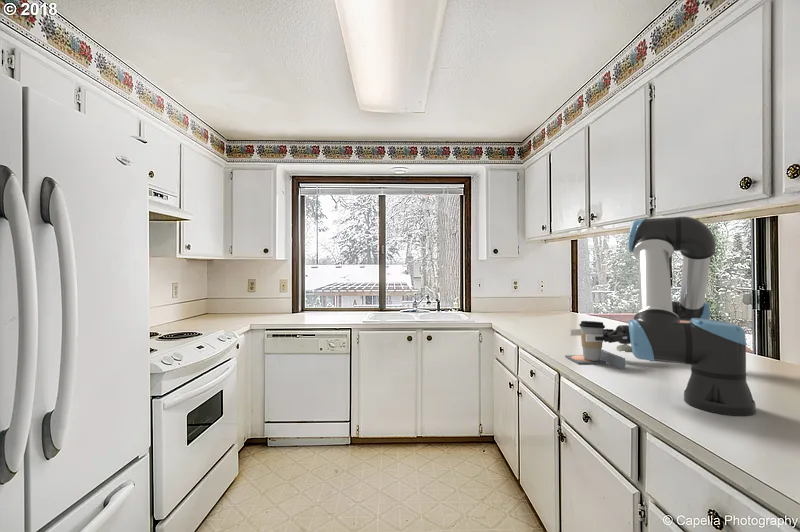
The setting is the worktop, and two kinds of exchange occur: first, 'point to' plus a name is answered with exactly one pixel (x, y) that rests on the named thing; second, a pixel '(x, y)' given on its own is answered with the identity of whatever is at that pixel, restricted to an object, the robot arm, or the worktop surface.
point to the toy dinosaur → (624, 348)
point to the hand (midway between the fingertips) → (577, 335)
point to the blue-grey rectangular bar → (613, 359)
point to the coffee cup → (591, 348)
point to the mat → (583, 360)
